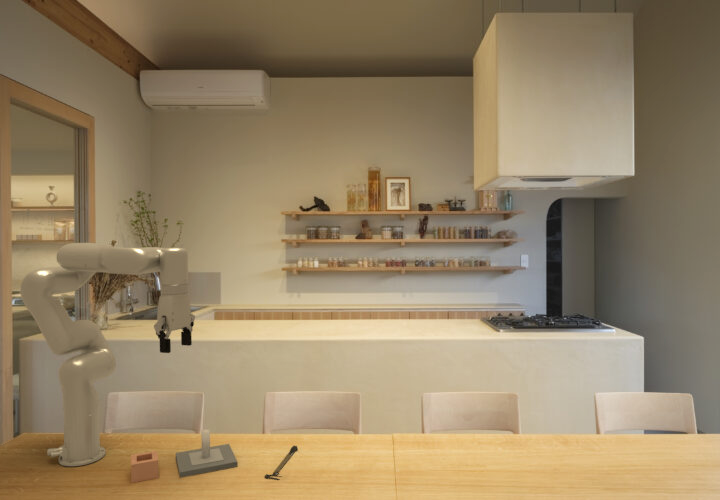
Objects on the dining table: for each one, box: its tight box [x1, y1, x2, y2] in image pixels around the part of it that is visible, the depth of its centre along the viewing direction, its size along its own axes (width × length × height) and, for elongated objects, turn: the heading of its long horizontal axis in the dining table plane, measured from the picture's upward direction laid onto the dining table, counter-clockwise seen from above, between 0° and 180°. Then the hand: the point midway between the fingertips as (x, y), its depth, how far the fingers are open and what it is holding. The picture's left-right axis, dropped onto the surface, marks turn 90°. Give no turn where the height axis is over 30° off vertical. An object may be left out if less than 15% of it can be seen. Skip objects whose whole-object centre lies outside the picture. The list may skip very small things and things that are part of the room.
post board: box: [175, 428, 239, 478], centre depth 153 cm, size 16×14×10 cm
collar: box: [130, 450, 159, 483], centre depth 145 cm, size 7×7×5 cm
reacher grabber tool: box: [263, 445, 298, 481], centre depth 152 cm, size 21×7×1 cm, turn 165°
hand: (176, 348), depth 149 cm, fingers open, 9 cm apart
